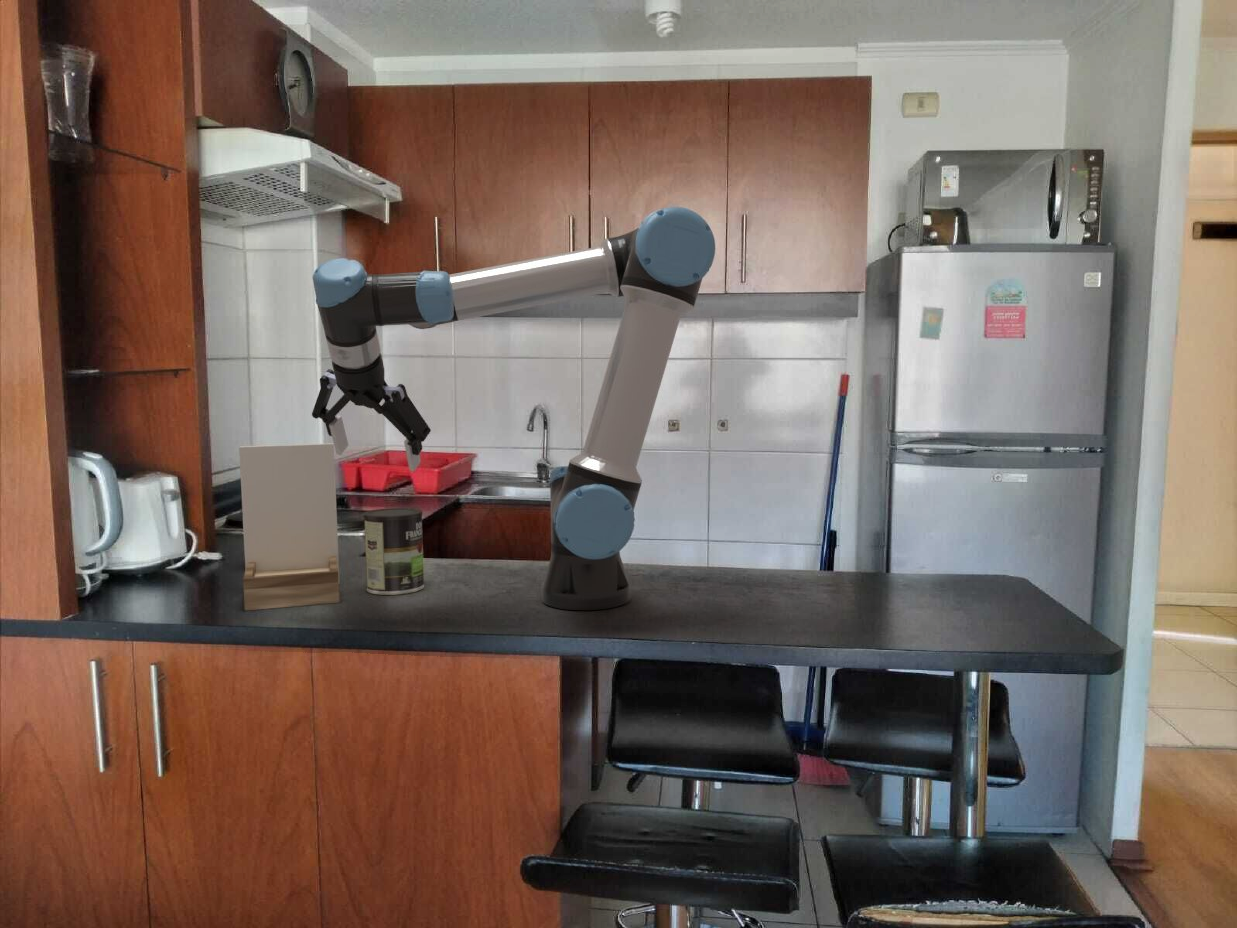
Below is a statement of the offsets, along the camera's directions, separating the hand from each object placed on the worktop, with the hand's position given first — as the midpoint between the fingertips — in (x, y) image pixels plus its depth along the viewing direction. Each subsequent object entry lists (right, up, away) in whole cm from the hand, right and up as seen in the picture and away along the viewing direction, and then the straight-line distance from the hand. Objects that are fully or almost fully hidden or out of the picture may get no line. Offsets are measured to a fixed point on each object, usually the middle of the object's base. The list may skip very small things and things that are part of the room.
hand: (378, 458), depth 157 cm
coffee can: (0, -24, +11) cm, 26 cm away
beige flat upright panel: (-19, -23, +13) cm, 33 cm away
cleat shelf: (-16, -24, +5) cm, 30 cm away
